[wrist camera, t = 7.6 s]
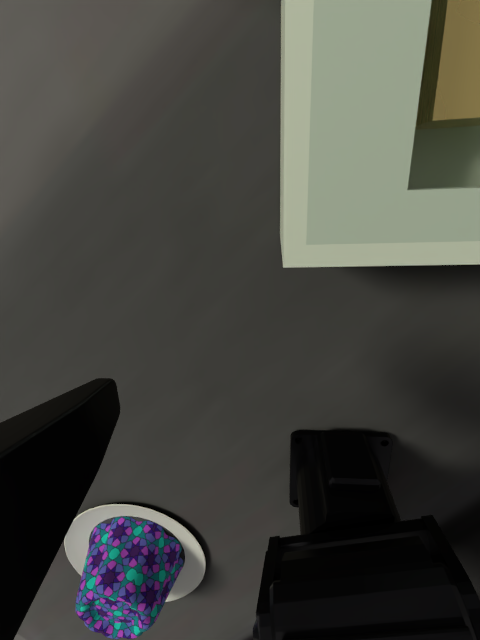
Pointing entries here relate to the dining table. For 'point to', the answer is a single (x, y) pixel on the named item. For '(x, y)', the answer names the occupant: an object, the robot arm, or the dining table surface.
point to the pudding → (130, 567)
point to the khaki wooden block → (451, 66)
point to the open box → (369, 143)
